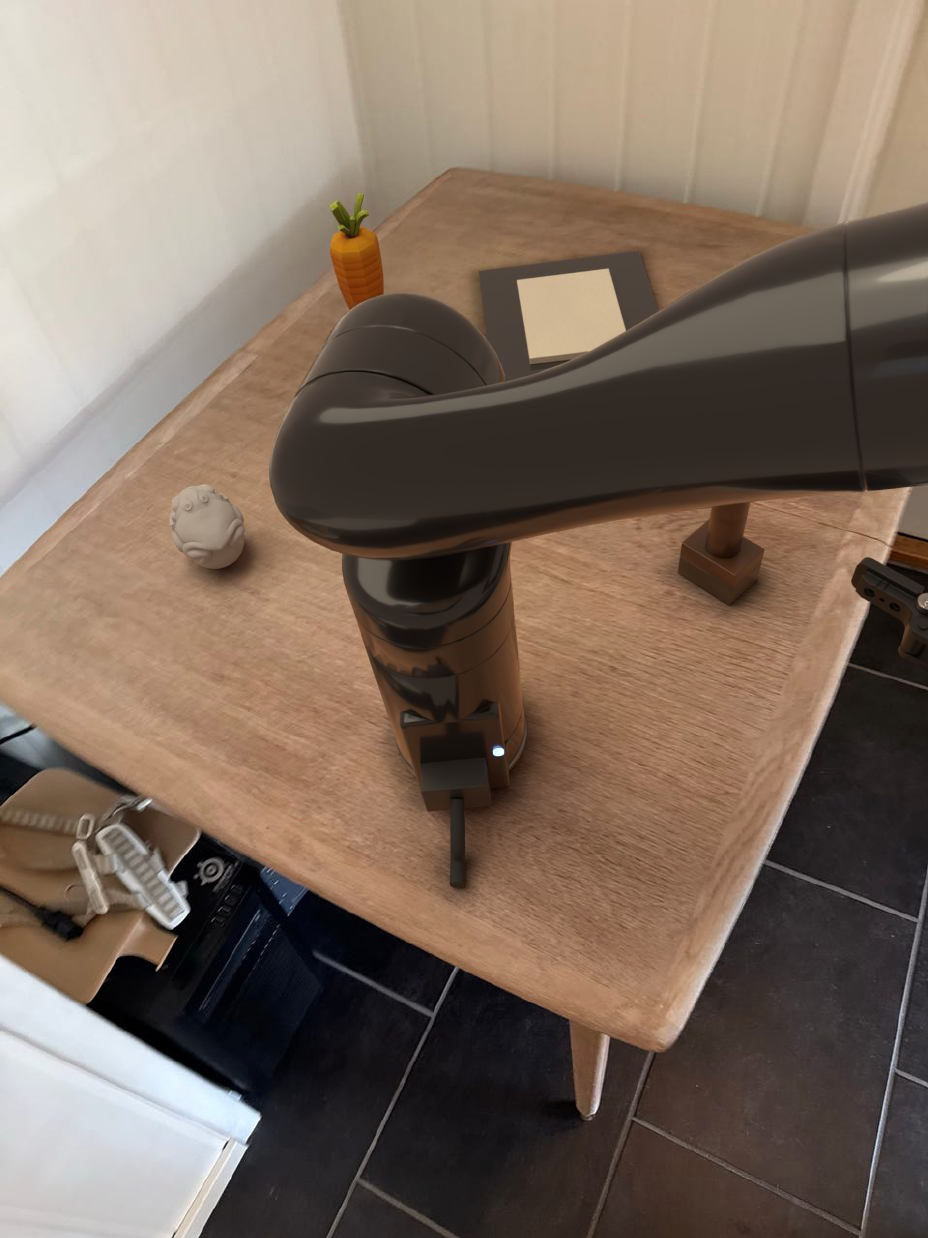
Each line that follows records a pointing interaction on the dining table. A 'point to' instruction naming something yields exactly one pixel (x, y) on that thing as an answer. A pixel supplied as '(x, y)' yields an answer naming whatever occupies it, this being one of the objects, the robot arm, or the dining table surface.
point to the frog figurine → (207, 527)
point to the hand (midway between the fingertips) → (896, 530)
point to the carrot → (356, 256)
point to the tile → (561, 308)
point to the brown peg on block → (722, 554)
